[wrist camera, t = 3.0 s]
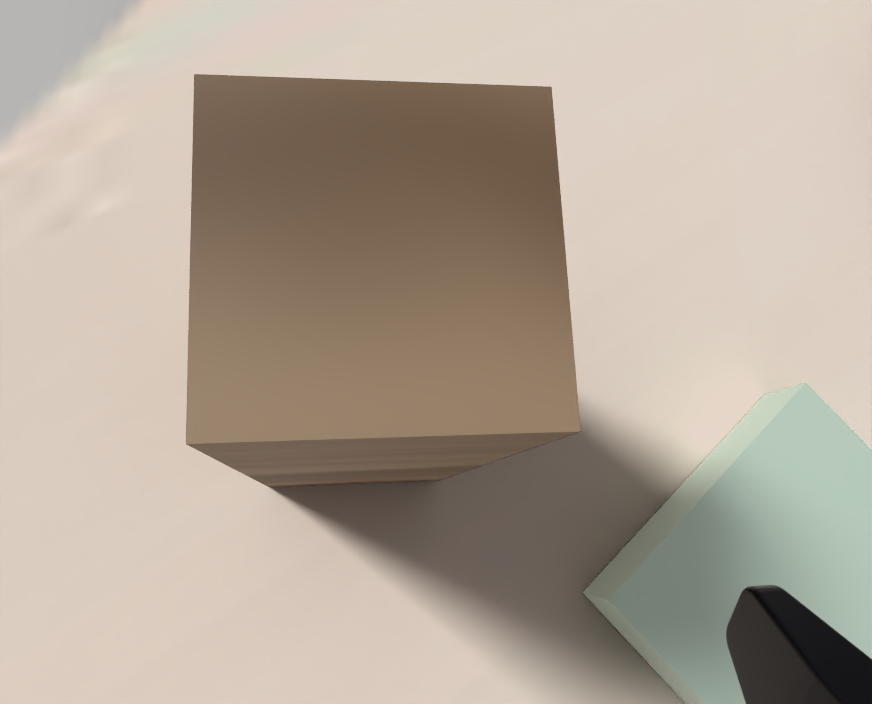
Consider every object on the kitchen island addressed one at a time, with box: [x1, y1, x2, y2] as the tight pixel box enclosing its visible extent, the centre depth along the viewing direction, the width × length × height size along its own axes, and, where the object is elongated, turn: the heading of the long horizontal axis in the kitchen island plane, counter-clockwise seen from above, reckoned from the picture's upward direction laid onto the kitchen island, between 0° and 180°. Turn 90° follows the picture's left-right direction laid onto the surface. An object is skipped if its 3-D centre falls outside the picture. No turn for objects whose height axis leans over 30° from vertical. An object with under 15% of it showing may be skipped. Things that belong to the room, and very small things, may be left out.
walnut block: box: [186, 74, 581, 487], centre depth 15 cm, size 4×4×12 cm
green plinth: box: [582, 383, 872, 704], centre depth 20 cm, size 8×8×2 cm
